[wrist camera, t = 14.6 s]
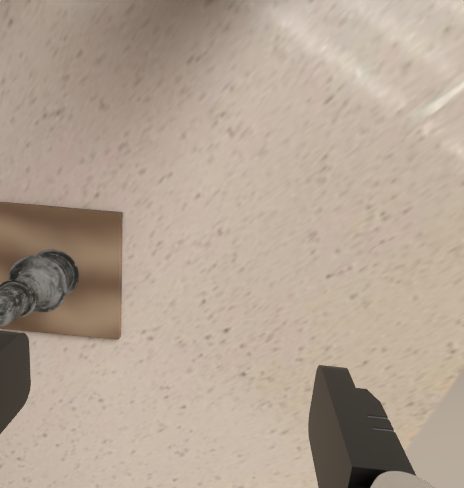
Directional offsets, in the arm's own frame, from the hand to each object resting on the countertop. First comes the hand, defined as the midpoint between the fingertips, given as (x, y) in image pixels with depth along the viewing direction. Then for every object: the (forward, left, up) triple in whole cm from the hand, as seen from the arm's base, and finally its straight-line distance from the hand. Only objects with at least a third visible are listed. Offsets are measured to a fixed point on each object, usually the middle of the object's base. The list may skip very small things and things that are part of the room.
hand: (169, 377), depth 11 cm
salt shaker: (+9, -18, -31) cm, 37 cm away
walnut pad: (+9, -18, -31) cm, 37 cm away
